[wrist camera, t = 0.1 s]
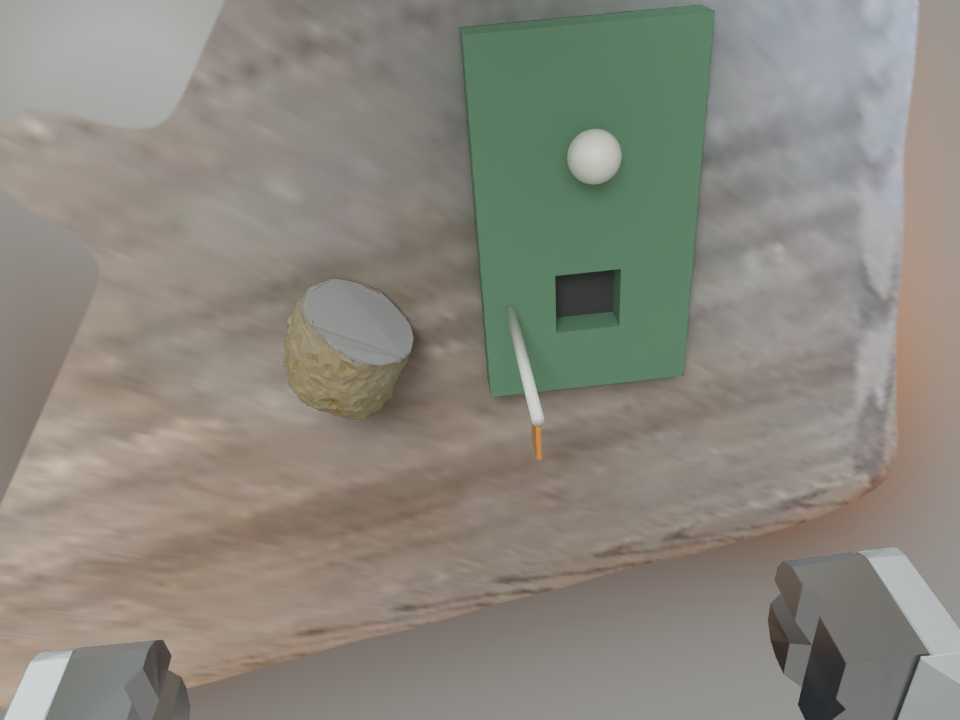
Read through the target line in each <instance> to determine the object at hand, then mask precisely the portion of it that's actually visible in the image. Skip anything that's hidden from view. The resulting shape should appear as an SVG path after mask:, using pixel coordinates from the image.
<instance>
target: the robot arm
mask: <svg viewBox="0 0 960 720" xmlns="http://www.w3.org/2000/svg"><path fill="white" fill-rule="evenodd" d="M775 582H776V584H777V586H778V588H779V590H780V592H781V594H779V595H778V596H777V597H776V599H774V600H773V601H772V602H771V603H770V610H769V617H768V625H769V632H770V640H771V644H772V647H773V650H774V653H775V656H776V659H777V661H778V663H779V665H780V667H781V670H782V672H783V674H785V675H786V676H787V677H789V678H790V679H791V680H793V681H794V682H795V683H797V684H798V685H799V686H801V687H802V689H801V693H800V698H799V702H798V706H799V708H800V710H801V712H802V714H803V716H804V718H805V720H960V629H959V628H958V626H957V625H956V623H955V622H954V621H953V620H952V618H951V617H950V616H949V614H948V613H947V611H946V610H945V609H944V607H943V606H942V605H941V603H940V602H939V601H938V599H937V598H936V596H935V595H934V594H933V592H932V591H931V590H930V588H929V587H928V585H927V584H926V583H925V581H924V580H923V579H922V577H921V576H920V575H919V573H918V572H917V570H916V569H915V568H914V566H913V565H912V564H911V562H910V561H909V560H908V558H907V557H906V555H905V554H904V553H903V552H902V551H900V550H898V549H897V548H896V547H892V548H884V549H877V550H868V551H860V552H855V553H854V552H846V553H839V554H832V555H824V556H817V557H810V558H803V559H795V560H788V561H783V562H782V563H781V564H780V565H779V566H778V568H777V572H776V576H775ZM170 660H171V654H170V652H169V650H168V648H167V646H166V645H165V643H164V641H163V640H155V641H144V642H134V643H124V644H114V645H103V646H93V647H83V648H74V649H65V650H57V651H48V652H40V653H39V654H38V655H37V656H36V657H35V658H34V659H33V660H32V661H31V662H30V663H29V665H28V667H27V669H26V671H25V673H24V675H23V678H22V680H21V682H20V684H19V686H18V689H17V691H16V693H15V695H14V697H13V700H12V702H11V704H10V706H9V709H8V711H7V713H6V715H5V717H4V720H189V712H190V704H189V699H188V694H187V689H186V687H185V684H184V682H183V680H182V677H180V676H178V675H176V674H175V673H173V672H171V671H169V670H168V667H169V663H170Z"/></svg>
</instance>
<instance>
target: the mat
mask: <svg viewBox="0 0 960 720" xmlns="http://www.w3.org/2000/svg"><path fill="white" fill-rule="evenodd" d="M714 13H715V11H713V10H711V9H709V8H707V7H705V6H703V5H695V6H684V7H674V8H663V9H652V10H642V11H631V12H620V13H610V14H599V15H588V16H578V17H567V18H556V19H546V20H535V21H524V22H514V23H503V24H492V25H482V26H471V27H461V28H460V35H461V48H462V60H463V73H464V85H465V98H466V110H467V123H468V135H469V148H470V160H471V173H472V185H473V198H474V210H475V223H476V236H477V248H478V261H479V273H480V286H481V298H482V311H483V323H484V336H485V348H486V361H487V373H488V383H489V388H490V394H491V397H499V396H508V395H517V394H525V396H526V400H527V404H528V408H529V413H530V417H531V423H532V440H533V444H534V448H535V453H536V457H537V460H542V450H541V425H543V424H544V422H545V419H544V416H543V412H542V408H541V404H540V400H539V397H538V393H537V392H543V391H552V390H561V389H570V388H579V387H588V386H597V385H606V384H615V383H624V382H633V381H642V380H651V379H660V378H669V377H678V376H683V374H684V362H685V351H686V339H687V327H688V316H689V304H690V292H691V281H692V269H693V258H694V246H695V234H696V223H697V211H698V199H699V188H700V176H701V164H702V153H703V141H704V129H705V118H706V106H707V94H708V83H709V71H710V59H711V48H712V36H713V24H714ZM589 129H602V130H605V131H607V132H609V133H611V134H612V135H613V136H614V137H615V138H616V139H617V141H618V142H619V144H620V147H621V152H622V160H621V164H620V167H619V169H618V171H617V172H616V174H615V175H614V176H613V177H612V178H611V179H609V180H608V181H606V182H604V183H601V184H594V185H593V184H586V183H583V182H581V181H580V180H578V179H577V178H576V177H575V176H574V175H573V174H572V173H571V171H570V169H569V166H568V162H567V153H568V149H569V146H570V144H571V142H572V141H573V139H574V138H575V137H576V136H577V135H579V134H580V133H581V132H583V131H586V130H589Z"/></svg>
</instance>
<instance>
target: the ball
mask: <svg viewBox="0 0 960 720" xmlns="http://www.w3.org/2000/svg"><path fill="white" fill-rule="evenodd" d="M621 160H622V152H621V147H620V144H619V142H618V141H617V139H616V138H615V137H614V136H613V135H612V134H611V133H609V132H607V131H605V130H602V129H589V130H586V131H583V132H581V133H580V134H579V135H577V136H576V137H575V138H574V139H573V141H572V142H571V144H570V146H569V149H568V153H567V162H568V166H569V169H570V171H571V173H572V174H573V175H574V176H575V177H576V178H577V179H578V180H580V181H581V182H583V183H586V184H593V185H594V184H601V183H604V182H606V181H608V180H609V179H611V178H612V177H613V176H614V175H615V174H616V172H617V171H618V169H619V167H620V164H621Z"/></svg>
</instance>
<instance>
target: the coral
mask: <svg viewBox="0 0 960 720" xmlns="http://www.w3.org/2000/svg"><path fill="white" fill-rule="evenodd" d="M287 324H288V326H289V328H288V330H287V335H286V340H285V353H284V361H283V362H284V365H283V366H284V369H285V371H286V374H287V377H288V384H289V386H290V387H291V388H292V389H293V391H294V393H295V394H296V395H297V396H298V397H299V400H301V402H303V403H305V404H306V405H307V406H311V407H313V408H316V409H318V410H319V411H325V412H329V413H331V414H333V415H337V416H341V417H344V418H350V419H363V420H365V419H366V418H367V417H368V416H370V415H372V414H373V413H374V412H377V411H379V410H381V409H382V406H383V405H384V404H385V403H386V402H387V401H388V400H389V399H390V398H391V397H392V396H393V395H394V392H393V390H394V385H395V383H396V382H397V381H398V380H399V378H400V375H401V372H402V370H403V368H404V366H405V365H406V363H407V362H408V360H409V356H410V354H411V350H412V346H413V341H414V336H413V334H412V329H411V327H410V325H409V322H408V321H407V319H406V318H405V316H404V315H403V314H402V313H401V312H400V311H399V310H398V309H397V307H396V306H395V305H394V304H393V303H392V302H391V301H390V300H389V299H388V298H387V297H386V296H385V295H384V294H383V293H382V292H381V291H380V290H376V289H373V288H370V287H368V286H366V285H363V284H359V283H355V282H351V281H347V280H341V279H334V278H330V279H327V281H323V282H320V283H317V284H315V285H312V286H311V287H309V288H308V289H307V290H306V292H305V293H304V295H303V296H302V298H301V299H300V300H299V301H298V303H297V304H296V306H295V308H294V310H293V312H292V314H291V315H290V316H289V317H288V321H287Z"/></svg>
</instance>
